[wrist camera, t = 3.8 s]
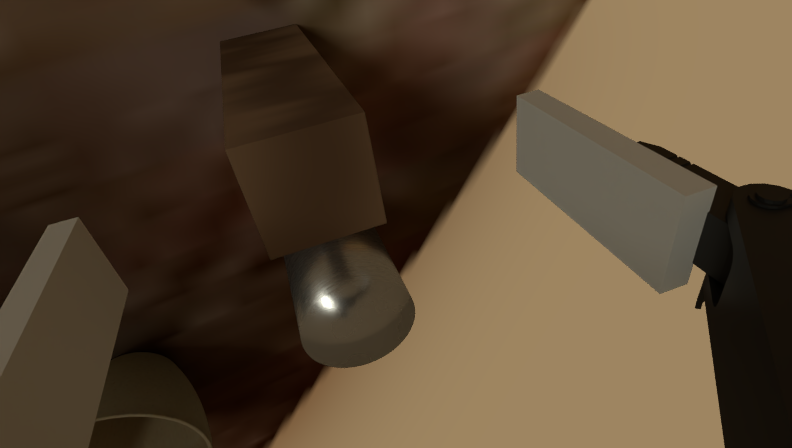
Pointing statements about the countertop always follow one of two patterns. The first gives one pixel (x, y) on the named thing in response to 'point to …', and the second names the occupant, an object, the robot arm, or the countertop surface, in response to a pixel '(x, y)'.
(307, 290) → the round bit
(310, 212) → the wooden square peg
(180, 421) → the flower pot
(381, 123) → the countertop surface
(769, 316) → the robot arm
